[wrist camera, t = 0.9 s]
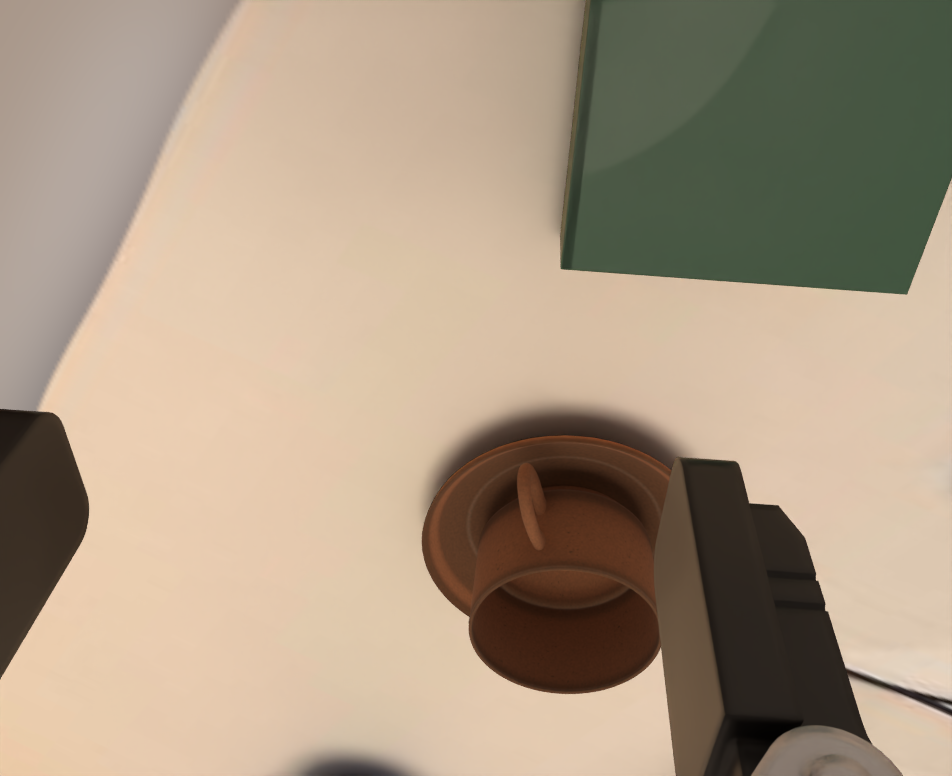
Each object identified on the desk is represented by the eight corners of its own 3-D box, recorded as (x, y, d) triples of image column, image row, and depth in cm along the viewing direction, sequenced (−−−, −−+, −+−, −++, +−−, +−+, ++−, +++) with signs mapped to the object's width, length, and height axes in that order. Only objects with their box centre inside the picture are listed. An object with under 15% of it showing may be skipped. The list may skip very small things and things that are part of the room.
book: (621, -329, 21) (628, -339, 19) (1083, -307, 20) (1141, -315, 18) (560, 235, 30) (560, 269, 28) (883, 258, 29) (907, 294, 27)
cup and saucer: (371, 491, 37) (342, 602, 32) (606, 361, 32) (615, 468, 28) (531, 642, 42) (527, 758, 37) (754, 549, 38) (785, 668, 33)
